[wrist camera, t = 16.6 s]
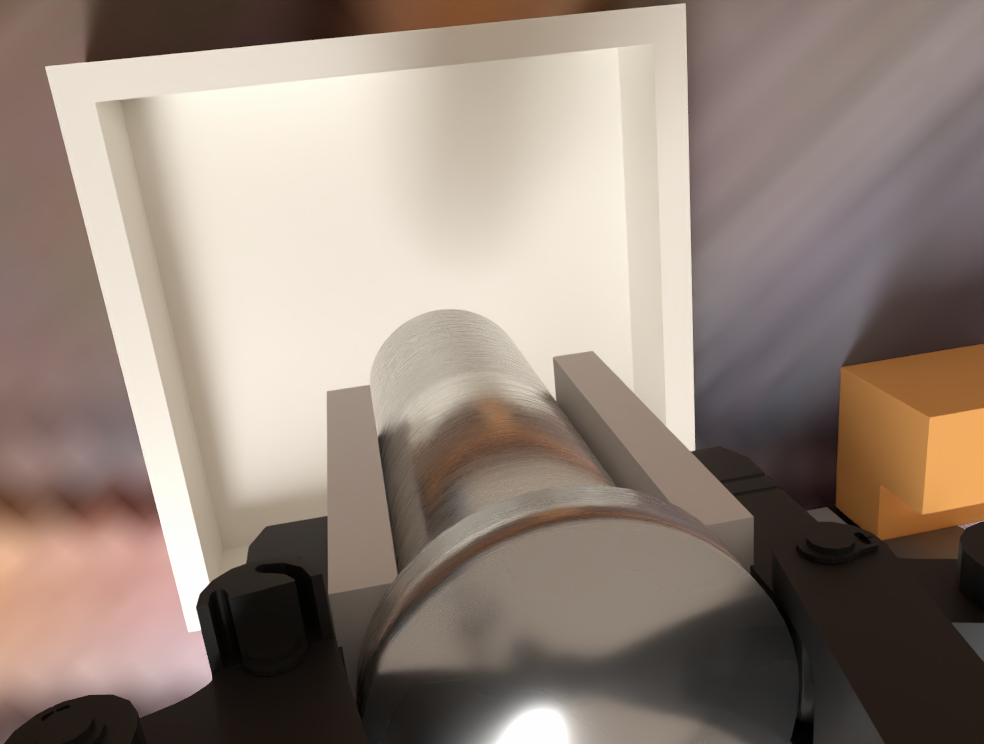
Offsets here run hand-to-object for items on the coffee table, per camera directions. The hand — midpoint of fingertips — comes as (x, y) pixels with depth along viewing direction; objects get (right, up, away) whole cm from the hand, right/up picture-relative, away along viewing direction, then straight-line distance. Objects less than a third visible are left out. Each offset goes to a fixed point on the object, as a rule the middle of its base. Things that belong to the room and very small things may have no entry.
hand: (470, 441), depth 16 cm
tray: (-2, +3, +9) cm, 9 cm away
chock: (+14, 0, +13) cm, 20 cm away
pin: (-1, +1, +3) cm, 3 cm away
